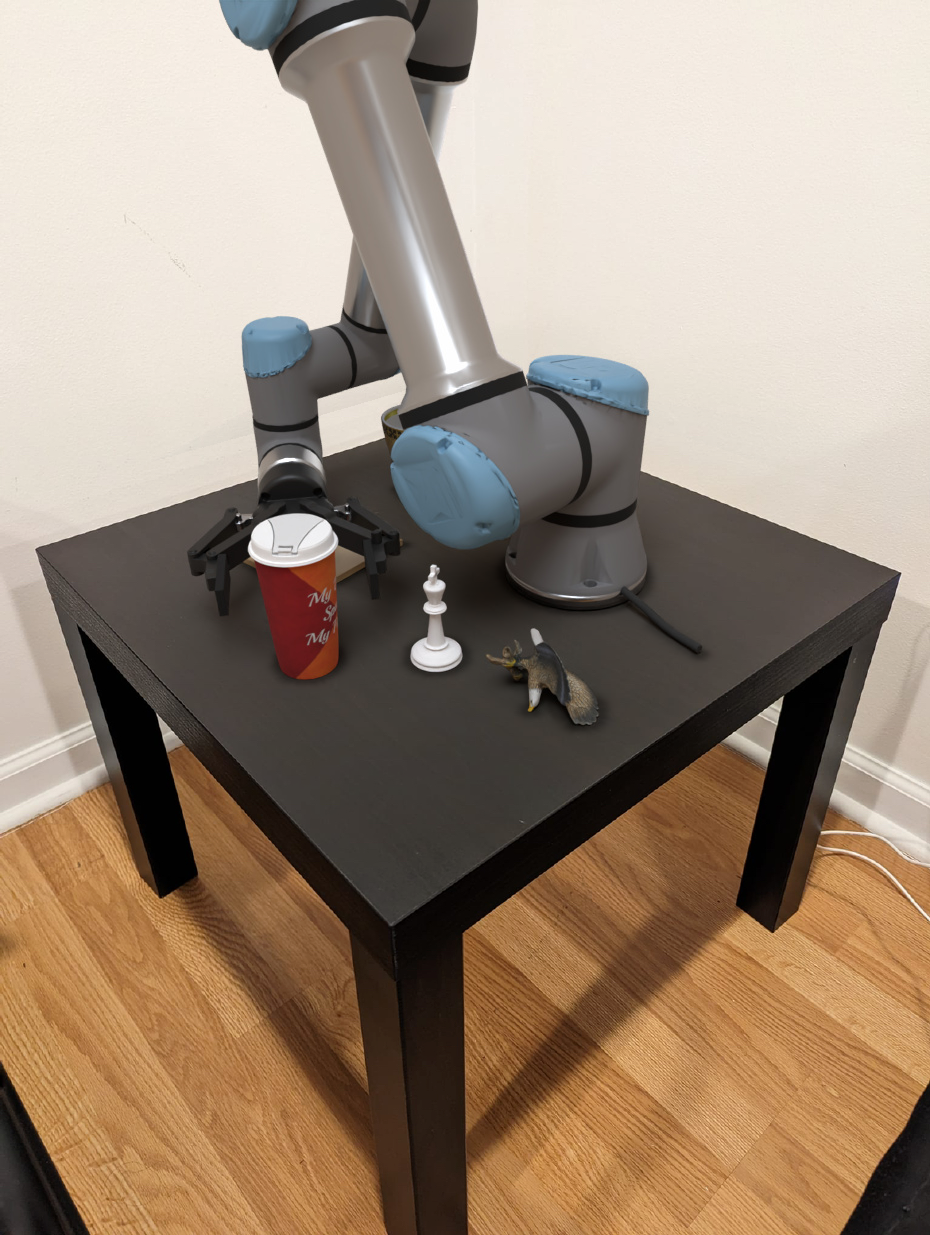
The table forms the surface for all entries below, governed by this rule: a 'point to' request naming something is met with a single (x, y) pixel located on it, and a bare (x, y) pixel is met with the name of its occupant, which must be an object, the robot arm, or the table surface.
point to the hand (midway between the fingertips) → (299, 595)
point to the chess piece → (435, 632)
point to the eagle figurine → (550, 679)
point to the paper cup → (299, 591)
